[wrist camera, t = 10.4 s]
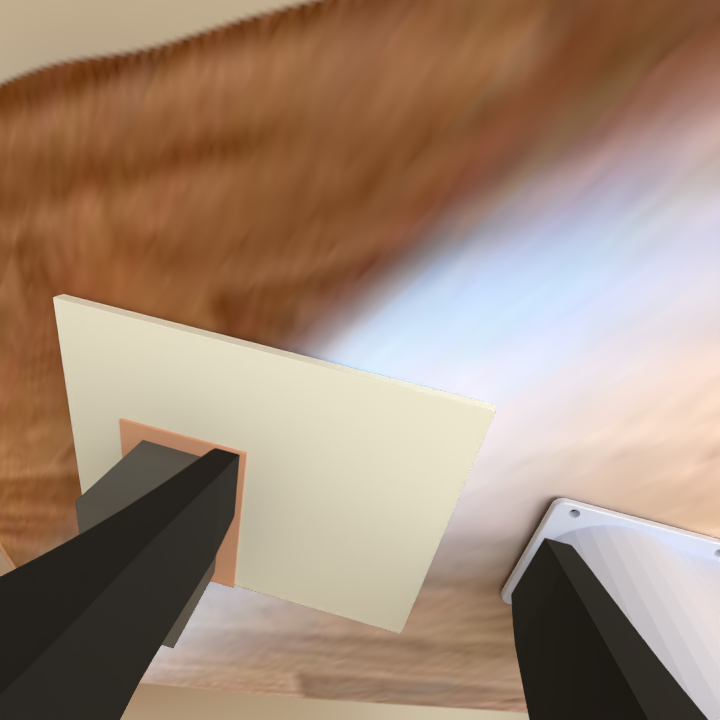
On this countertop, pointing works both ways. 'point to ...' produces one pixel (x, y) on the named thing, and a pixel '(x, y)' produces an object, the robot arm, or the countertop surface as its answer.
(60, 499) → the countertop surface
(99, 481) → the domino block
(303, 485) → the cream mat
